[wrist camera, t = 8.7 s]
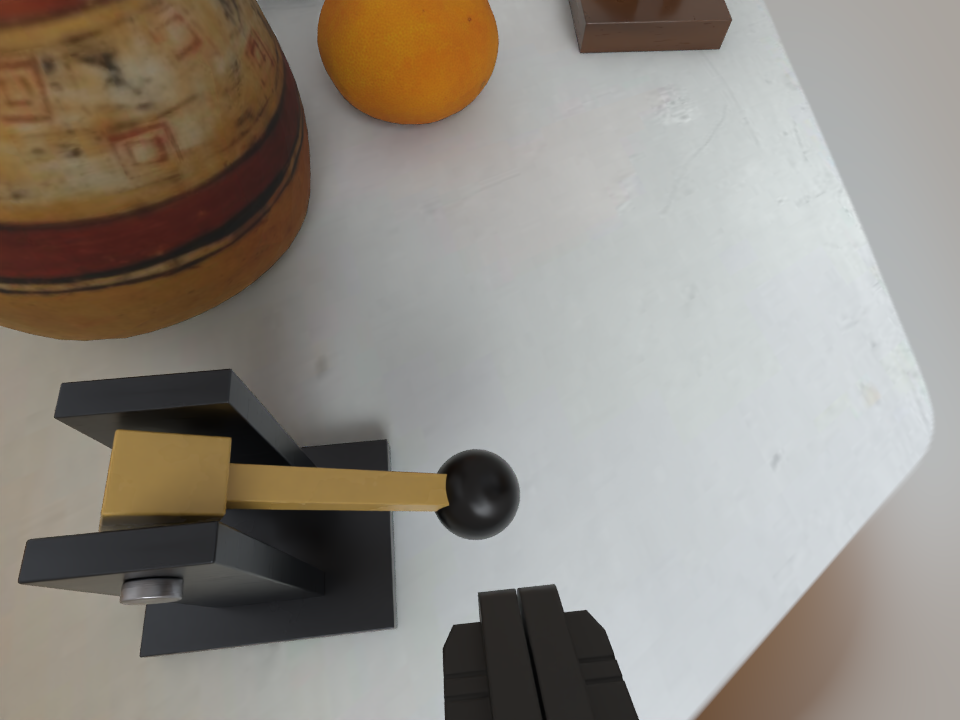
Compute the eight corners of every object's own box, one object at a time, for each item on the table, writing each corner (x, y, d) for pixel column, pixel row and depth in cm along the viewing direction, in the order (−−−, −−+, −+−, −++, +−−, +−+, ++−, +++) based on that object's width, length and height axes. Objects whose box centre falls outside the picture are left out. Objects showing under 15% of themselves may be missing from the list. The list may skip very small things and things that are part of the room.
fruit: (474, 166, 36) (476, 47, 28) (312, 134, 37) (274, 10, 29) (510, 57, 40) (519, -71, 33) (364, 30, 41) (343, -100, 34)
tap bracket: (390, 446, 28) (337, 311, 16) (397, 628, 24) (336, 620, 13) (176, 466, 27) (-36, 340, 16) (153, 656, 24) (-140, 674, 12)
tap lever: (485, 465, 24) (530, 441, 21) (493, 546, 22) (544, 529, 20) (113, 443, 17) (119, 404, 15) (94, 556, 16) (97, 533, 13)
